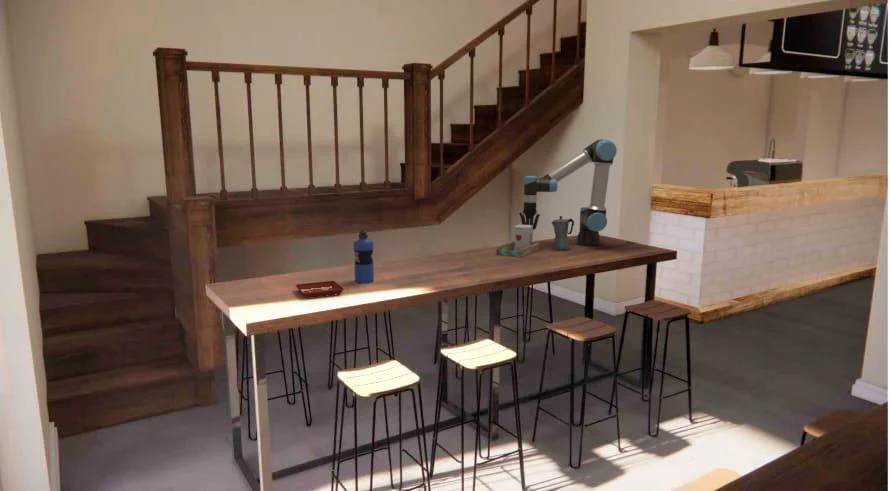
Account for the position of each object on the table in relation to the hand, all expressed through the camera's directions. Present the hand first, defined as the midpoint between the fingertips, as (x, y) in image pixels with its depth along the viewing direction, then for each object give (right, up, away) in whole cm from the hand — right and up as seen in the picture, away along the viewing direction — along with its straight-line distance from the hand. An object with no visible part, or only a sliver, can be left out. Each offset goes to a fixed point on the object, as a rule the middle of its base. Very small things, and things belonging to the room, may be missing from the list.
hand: (529, 240), depth 384 cm
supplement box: (-4, -6, -6) cm, 10 cm away
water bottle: (-89, -20, -80) cm, 121 cm away
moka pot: (+19, -5, -2) cm, 20 cm away
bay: (-8, -7, -12) cm, 16 cm away
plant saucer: (-107, -25, -100) cm, 149 cm away
